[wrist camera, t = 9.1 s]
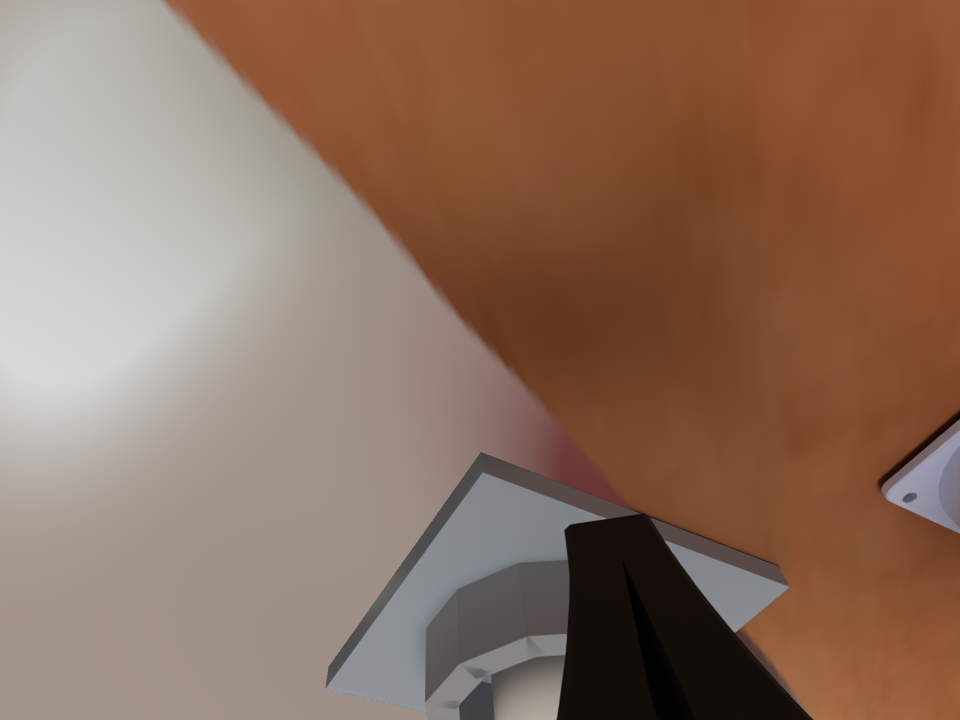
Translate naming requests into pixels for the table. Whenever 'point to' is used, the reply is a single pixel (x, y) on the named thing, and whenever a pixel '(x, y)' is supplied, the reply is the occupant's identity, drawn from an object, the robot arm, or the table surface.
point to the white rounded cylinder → (528, 689)
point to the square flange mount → (505, 593)
